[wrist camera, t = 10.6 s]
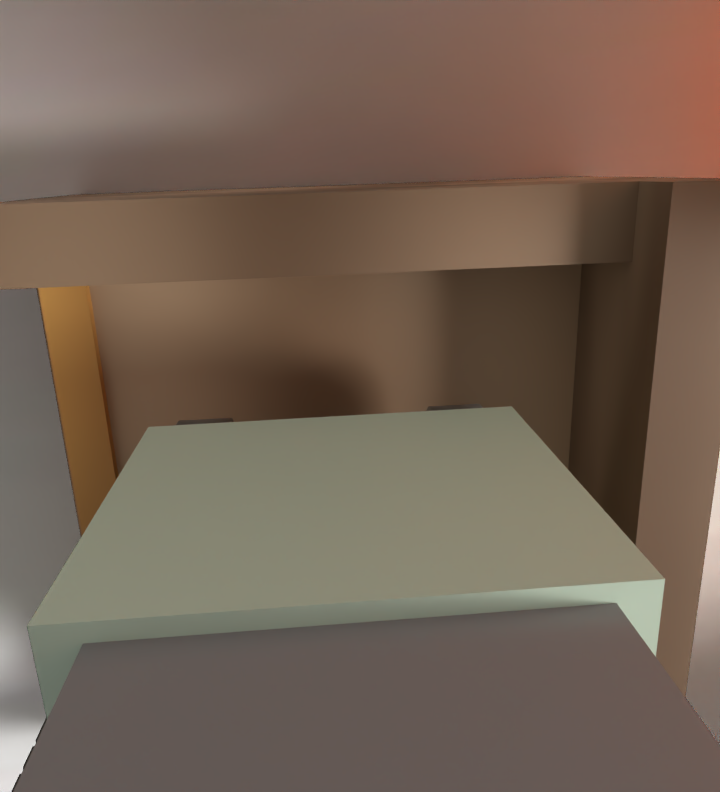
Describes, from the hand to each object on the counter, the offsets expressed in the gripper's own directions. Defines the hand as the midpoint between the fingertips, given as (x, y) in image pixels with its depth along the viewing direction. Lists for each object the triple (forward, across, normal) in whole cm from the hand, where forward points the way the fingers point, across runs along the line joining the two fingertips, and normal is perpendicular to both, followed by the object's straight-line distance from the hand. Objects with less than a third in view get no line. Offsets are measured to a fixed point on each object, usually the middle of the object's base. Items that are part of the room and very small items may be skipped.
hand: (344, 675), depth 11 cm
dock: (+7, 0, 0) cm, 7 cm away
